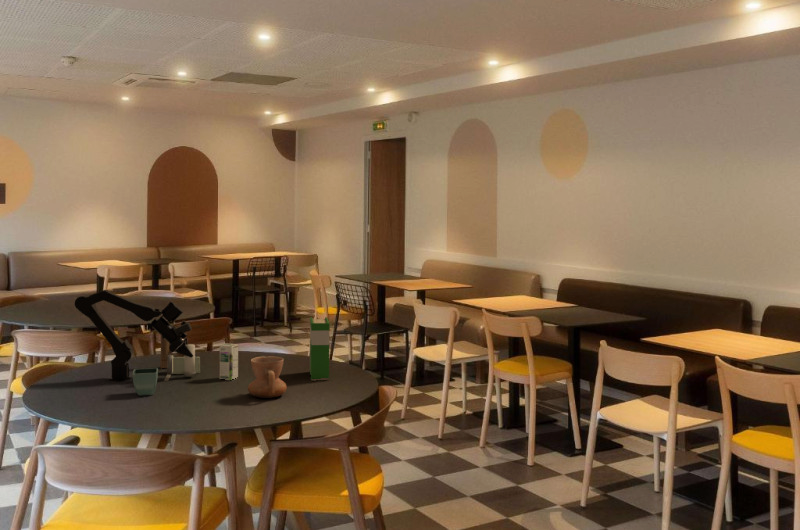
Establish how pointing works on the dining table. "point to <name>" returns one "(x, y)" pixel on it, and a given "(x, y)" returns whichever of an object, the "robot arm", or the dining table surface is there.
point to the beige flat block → (179, 365)
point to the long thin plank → (169, 367)
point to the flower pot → (145, 380)
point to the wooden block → (166, 353)
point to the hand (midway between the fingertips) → (193, 355)
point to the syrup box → (228, 361)
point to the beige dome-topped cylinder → (189, 361)
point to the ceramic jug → (267, 377)
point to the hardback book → (319, 348)
